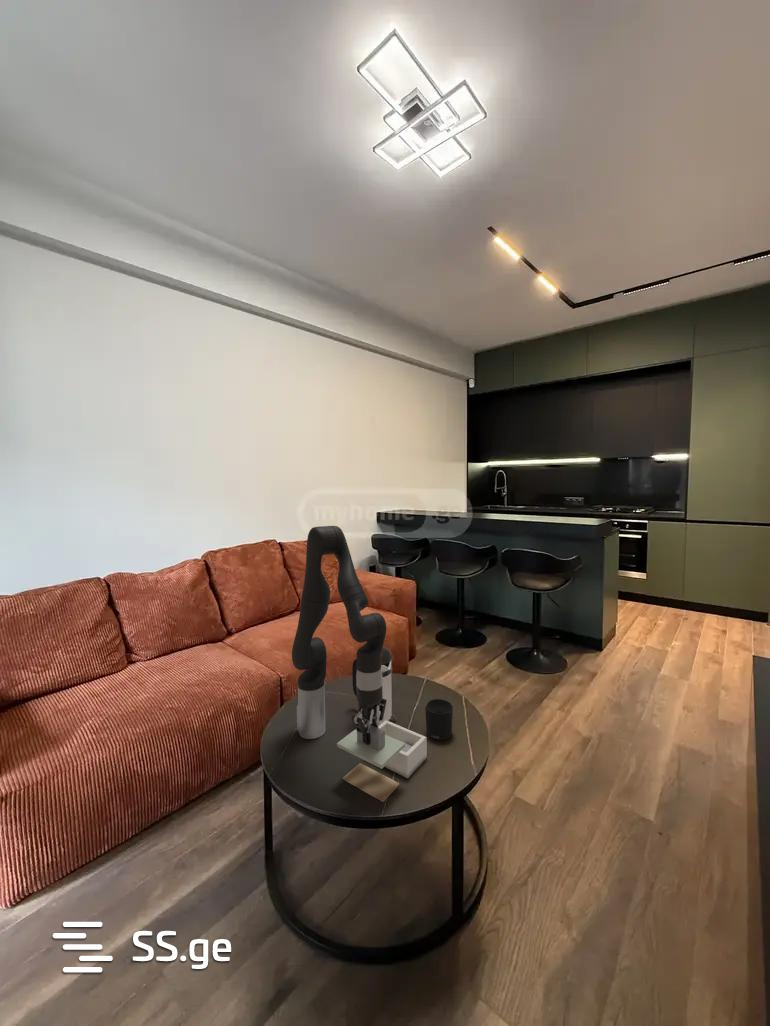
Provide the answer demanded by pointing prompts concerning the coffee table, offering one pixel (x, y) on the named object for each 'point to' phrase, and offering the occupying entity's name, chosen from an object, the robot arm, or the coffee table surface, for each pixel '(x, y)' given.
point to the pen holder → (439, 719)
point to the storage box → (406, 749)
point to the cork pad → (371, 782)
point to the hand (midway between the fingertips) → (370, 740)
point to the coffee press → (386, 682)
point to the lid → (372, 746)
